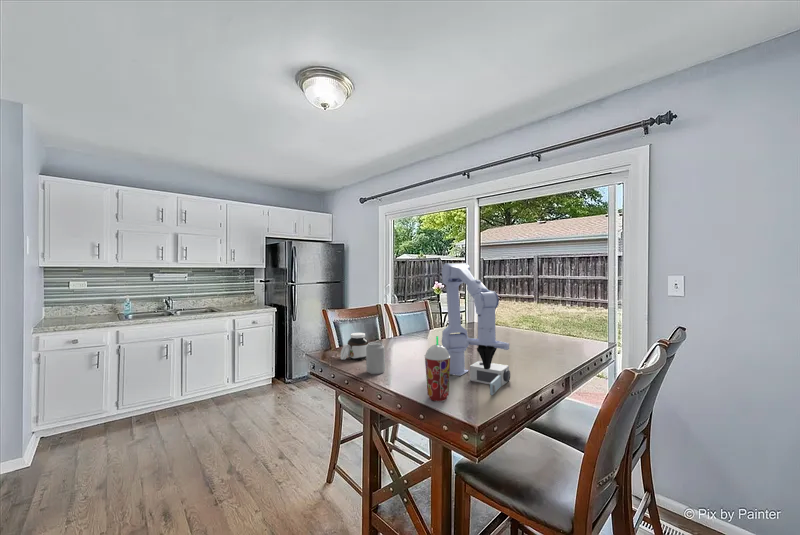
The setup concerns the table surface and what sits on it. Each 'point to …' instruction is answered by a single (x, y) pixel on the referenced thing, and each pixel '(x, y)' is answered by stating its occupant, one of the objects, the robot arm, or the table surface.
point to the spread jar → (355, 347)
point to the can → (375, 358)
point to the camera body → (489, 373)
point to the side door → (495, 384)
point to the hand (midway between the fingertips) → (487, 368)
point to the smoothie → (437, 372)
